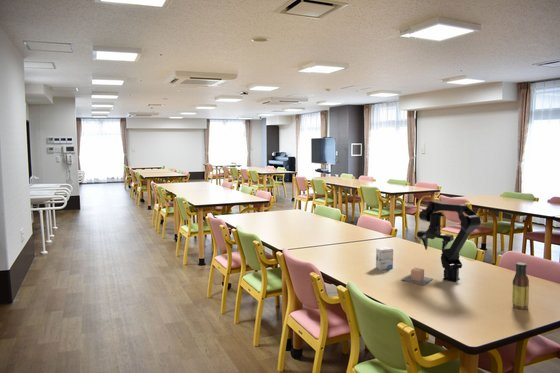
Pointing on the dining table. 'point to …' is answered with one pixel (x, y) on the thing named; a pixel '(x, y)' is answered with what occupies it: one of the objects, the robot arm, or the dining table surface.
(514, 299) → the sauce bottle
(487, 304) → the dining table surface
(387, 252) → the ink box
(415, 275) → the terracotta cube
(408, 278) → the charcoal mat
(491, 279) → the dining table surface
